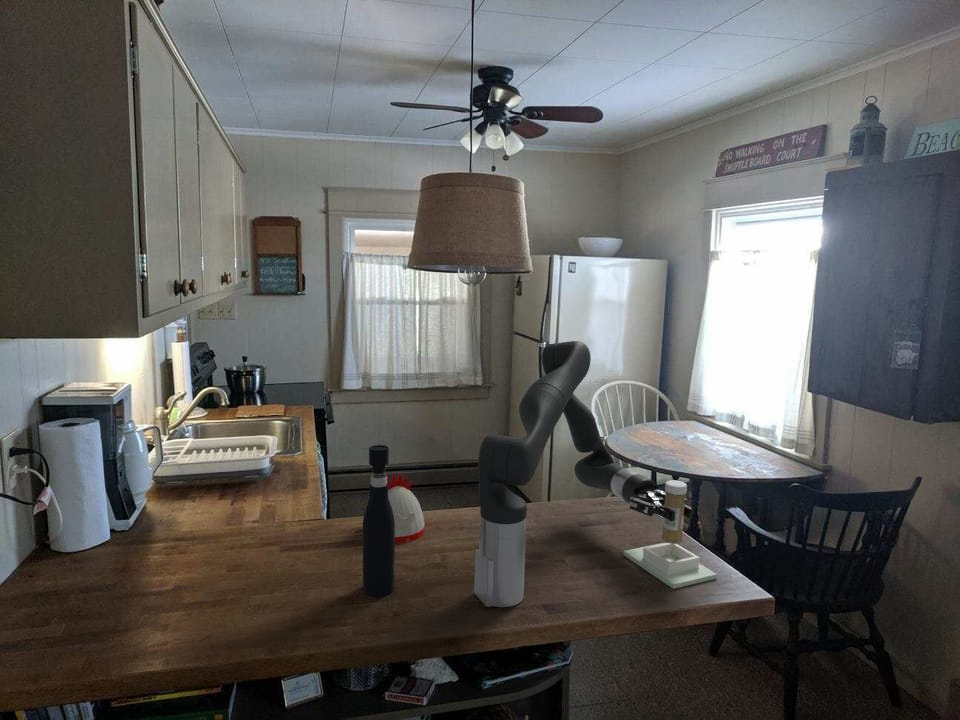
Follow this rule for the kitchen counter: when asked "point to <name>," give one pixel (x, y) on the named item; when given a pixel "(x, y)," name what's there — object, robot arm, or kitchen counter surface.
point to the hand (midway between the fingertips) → (682, 515)
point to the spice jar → (676, 503)
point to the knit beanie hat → (405, 510)
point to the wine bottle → (378, 530)
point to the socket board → (671, 564)
